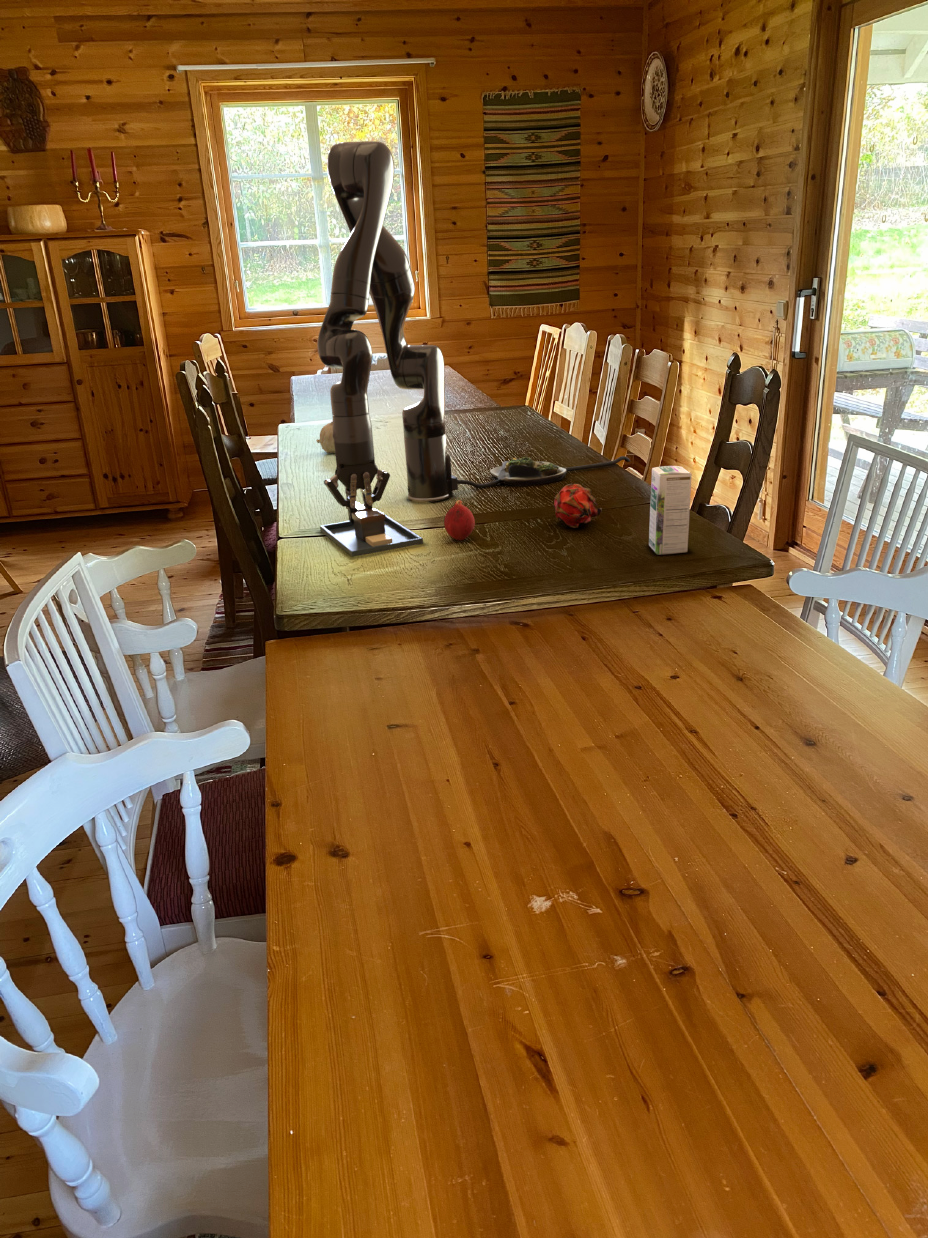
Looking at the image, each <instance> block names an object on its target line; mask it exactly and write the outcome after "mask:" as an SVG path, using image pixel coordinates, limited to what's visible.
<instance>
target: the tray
mask: <svg viewBox="0 0 928 1238" xmlns="http://www.w3.org/2000/svg"><path fill="white" fill-rule="evenodd" d="M384 524H385V534H386V535H388V536H389V537H391V538H392V543H390V544H384V545H379V546H374V547H372V546H371V545H370V544H368V543H367V542H366V541H363V540H361V539H360V538H358V537H357V536H355V528H354V525H353V524H352V523H351V522H350V521H349V520H344V521H340V522H334V523H328V524H323V525H320V526H319V529H320V532H321V533H323V534H324V535H325V536H326V537H327V538H328V539H330V540H331V541H332V542H333V543H335V544H336V545H337V546H338V547H340V548H341V549H342V550H343V551H344V552H346V553H347V554H348V555H349V556H350V557H352V558H355V557H359V556H364V555H365V556H366V555H371V554H376V553H381V552H385V551H391V550H392V551H393V550H397V549H403V548H408V547H413V546H417V545H423V544H424V538H423V537H422V536H420V535H418V534H417V533H415V532H414V531H412V530H410V529H409V528H408V527H406V526H405V525H403V524H401V523H399V522H398V521H396V520H395V519H393V518H392V517H390V516H389V515H387V514H385V520H384Z"/></svg>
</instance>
